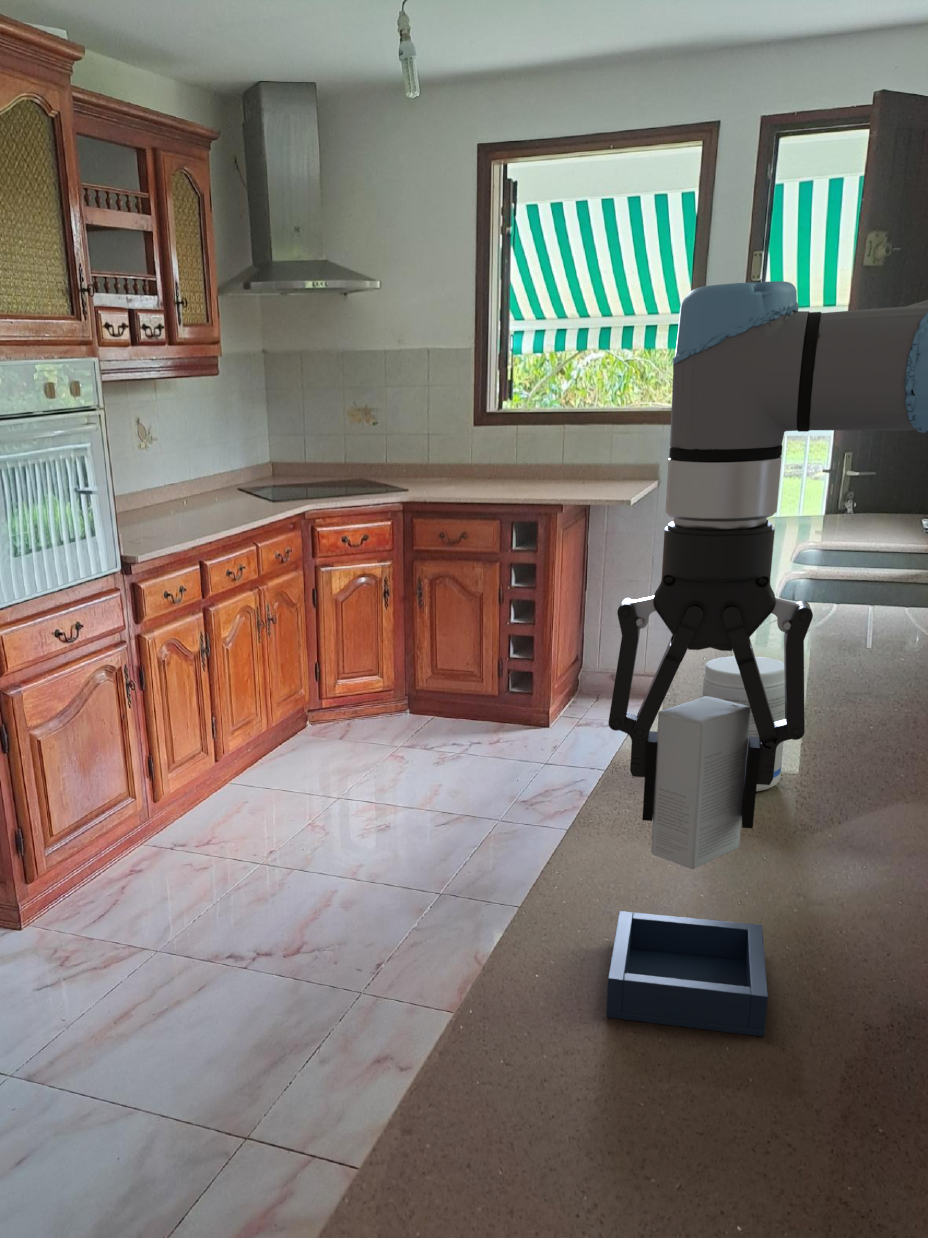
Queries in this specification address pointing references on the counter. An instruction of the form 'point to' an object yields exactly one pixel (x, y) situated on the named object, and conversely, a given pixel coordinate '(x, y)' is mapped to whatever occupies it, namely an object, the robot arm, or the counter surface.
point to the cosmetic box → (699, 780)
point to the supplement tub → (729, 686)
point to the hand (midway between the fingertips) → (697, 817)
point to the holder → (688, 973)
